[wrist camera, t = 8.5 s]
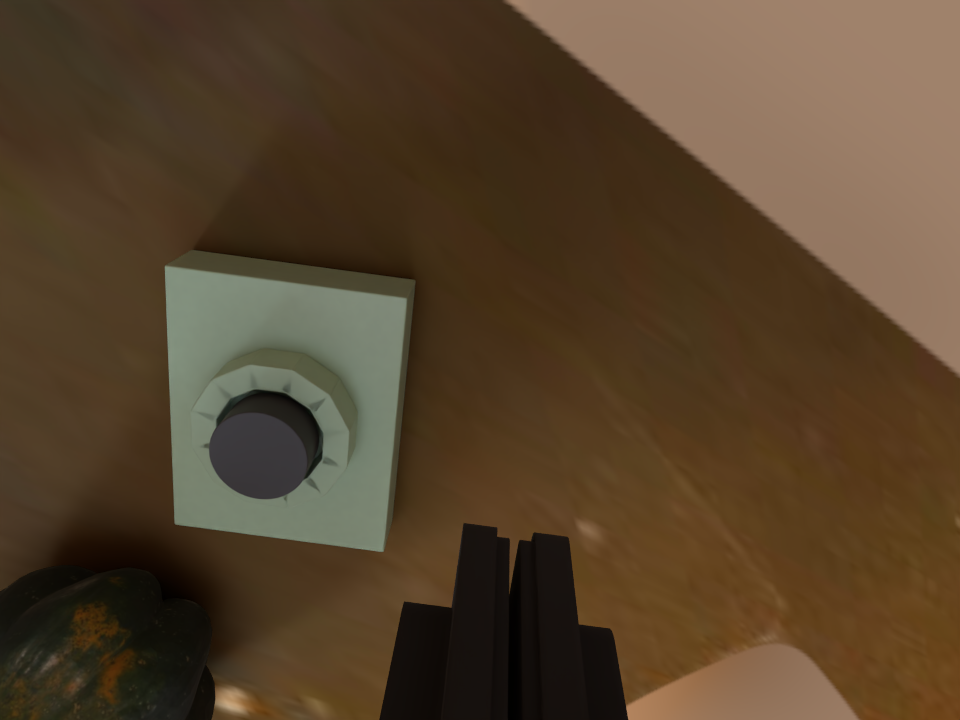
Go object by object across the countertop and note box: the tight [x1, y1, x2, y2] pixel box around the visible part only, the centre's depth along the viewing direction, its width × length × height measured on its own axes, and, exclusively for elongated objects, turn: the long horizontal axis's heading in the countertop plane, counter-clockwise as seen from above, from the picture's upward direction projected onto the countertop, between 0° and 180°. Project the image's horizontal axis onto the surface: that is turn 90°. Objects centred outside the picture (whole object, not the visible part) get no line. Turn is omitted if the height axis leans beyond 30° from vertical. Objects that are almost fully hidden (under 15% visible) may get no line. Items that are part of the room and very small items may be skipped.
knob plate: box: [165, 250, 415, 552], centre depth 36 cm, size 14×11×5 cm
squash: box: [0, 565, 215, 720], centre depth 39 cm, size 14×15×15 cm
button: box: [209, 393, 319, 499], centre depth 33 cm, size 4×4×2 cm
